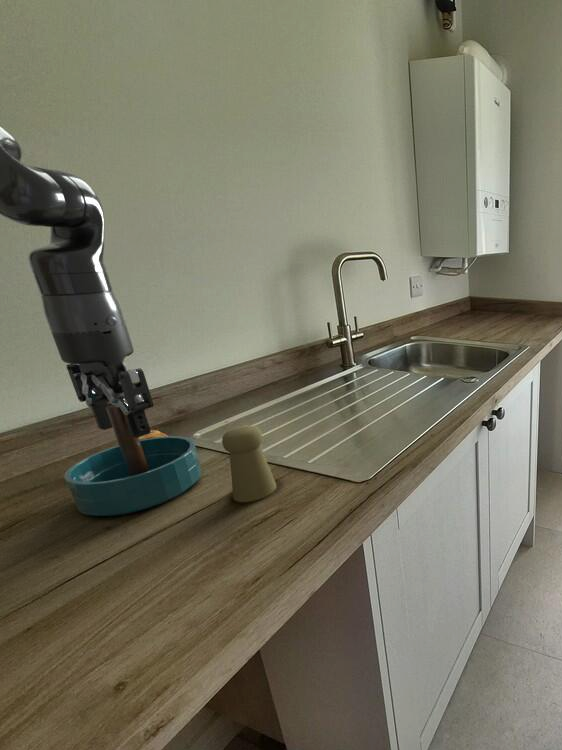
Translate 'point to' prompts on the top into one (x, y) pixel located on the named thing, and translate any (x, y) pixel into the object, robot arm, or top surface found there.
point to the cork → (248, 464)
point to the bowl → (133, 477)
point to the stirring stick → (127, 442)
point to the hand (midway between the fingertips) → (125, 431)
